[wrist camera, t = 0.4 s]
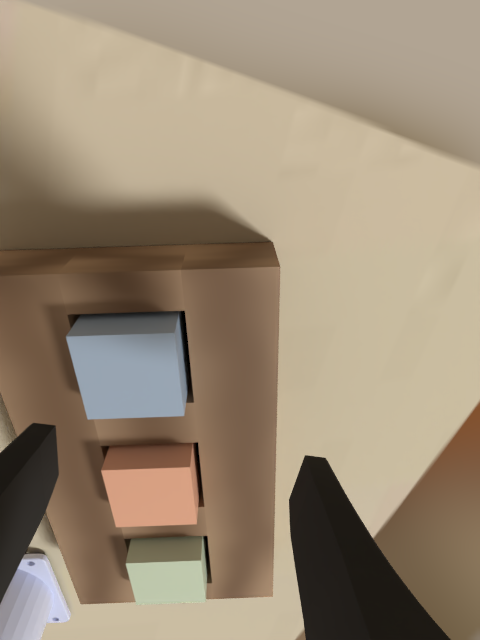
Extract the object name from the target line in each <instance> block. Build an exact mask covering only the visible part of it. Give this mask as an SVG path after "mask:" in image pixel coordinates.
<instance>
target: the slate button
mask: <svg viewBox="0 0 480 640" xmlns="http://www.w3.org/2000/svg"><path fill="white" fill-rule="evenodd" d="M66 339H67V343H68V347H69V351H70V354H71V358H72V362H73V366H74V370H75V373H76V377H77V381H78V385H79V389H80V392H81V396H82V400H83V404H84V407H85V411H86V415H87V419H88V420H89V419H117V418H145V417H173V416H184V414H185V407H186V399H187V392H188V385H189V376H188V366H187V356H186V347H185V337H184V328H183V318H182V311H159V312H130V313H100V314H81V315H80V317H79V318H78V319H77V321H76V322H75V324H74V325H73V327H72V328H71V330H70V331H69V333H68V334H67V336H66Z"/></svg>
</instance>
